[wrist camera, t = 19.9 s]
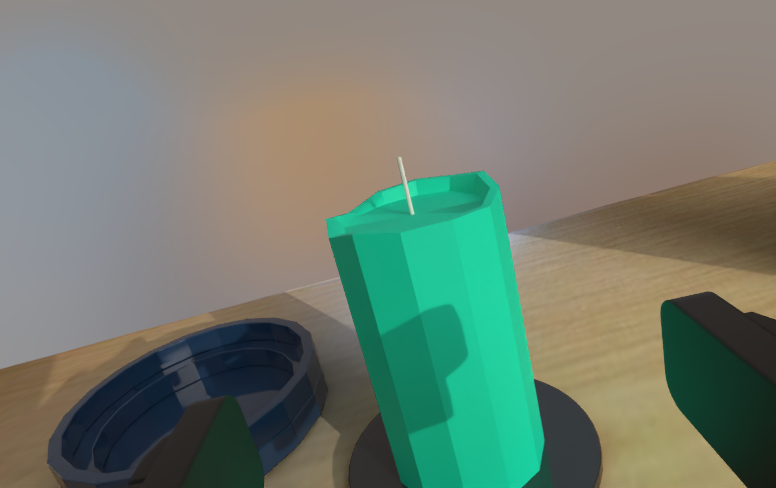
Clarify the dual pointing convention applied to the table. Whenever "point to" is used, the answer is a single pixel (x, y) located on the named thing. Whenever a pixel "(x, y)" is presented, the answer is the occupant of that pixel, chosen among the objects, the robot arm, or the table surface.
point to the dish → (193, 399)
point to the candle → (442, 330)
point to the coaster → (559, 458)
